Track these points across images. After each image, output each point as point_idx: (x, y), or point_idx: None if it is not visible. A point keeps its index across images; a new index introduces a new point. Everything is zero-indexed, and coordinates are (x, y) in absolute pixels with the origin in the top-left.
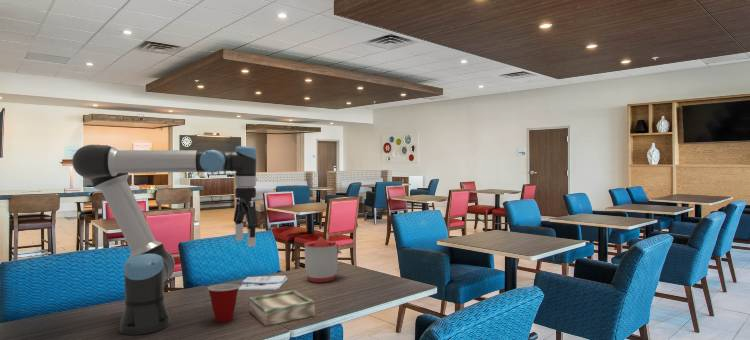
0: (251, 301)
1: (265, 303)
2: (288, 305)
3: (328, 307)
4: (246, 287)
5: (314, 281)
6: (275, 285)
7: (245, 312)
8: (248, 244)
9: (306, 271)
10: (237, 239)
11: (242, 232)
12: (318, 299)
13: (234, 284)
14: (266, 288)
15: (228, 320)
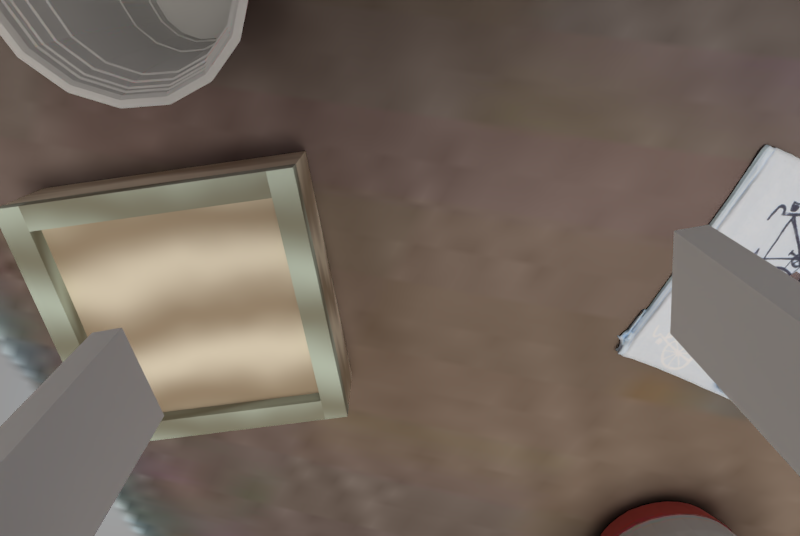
0: (251, 171)
1: (199, 238)
2: (66, 333)
3: (225, 469)
4: (763, 203)
5: (626, 514)
6: (683, 351)
7: (294, 126)
8: (74, 354)
9: (701, 530)
10: (685, 263)
11: (752, 414)
12: (355, 464)
13: (206, 73)
14: (661, 300)
15: (155, 10)
